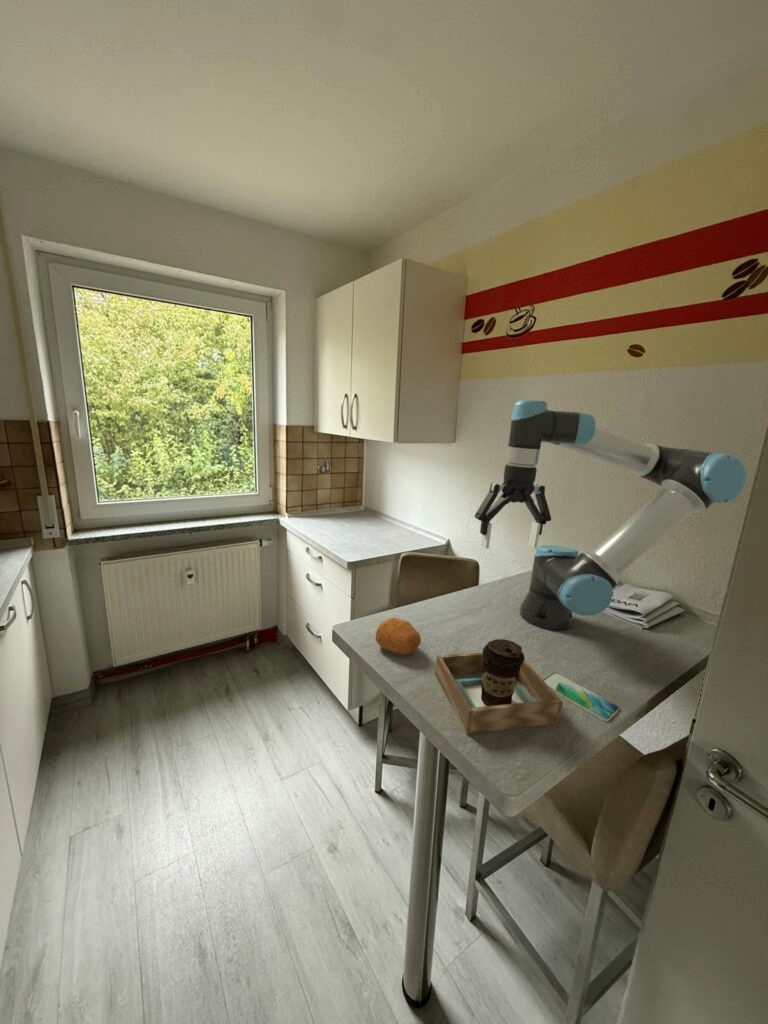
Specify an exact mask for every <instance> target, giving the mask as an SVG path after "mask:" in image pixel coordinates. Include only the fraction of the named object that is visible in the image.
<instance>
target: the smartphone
mask: <svg viewBox="0 0 768 1024" xmlns="http://www.w3.org/2000/svg"><path fill="white" fill-rule="evenodd" d="M542 680H543V681H544V682H545V683H546V684H547V685H548V686H549V687H550V688H551V690H552V691H553V692H554V693H555V694H556V695H557V696H560V697H562V698H563V699H565V700H567V701H569V702H570V703H571V704H573V705H575V706H577V707H578V708H581V710H584V711H586V712H587V713H589V714H591V715H593V716H594V717H596V718H597V719H599V720H601V721H603V722H607V723H608V722H609V721H611V719H612V718H613V717H614V716H615V715H616V714H617V713H618V712H619V711H620V710H619V709H620V706H619V705H618V704H616V703H613V702H612V701H609V700H608V699H606V698H604V697H602V696H600V695H598V694H597V693H595V692H593V691H592V690H590V689H588V688H586V687H584V686H582V685H580V684H578V683H576V682H575V681H573V680H571V679H569V678H567V677H565V676H563V675H562V674H560V673H558V672H553V673H551V674H550V675H548V676H547V677H546V678H544V679H542ZM618 710H619V711H618ZM617 711H618V712H617Z"/></svg>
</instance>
